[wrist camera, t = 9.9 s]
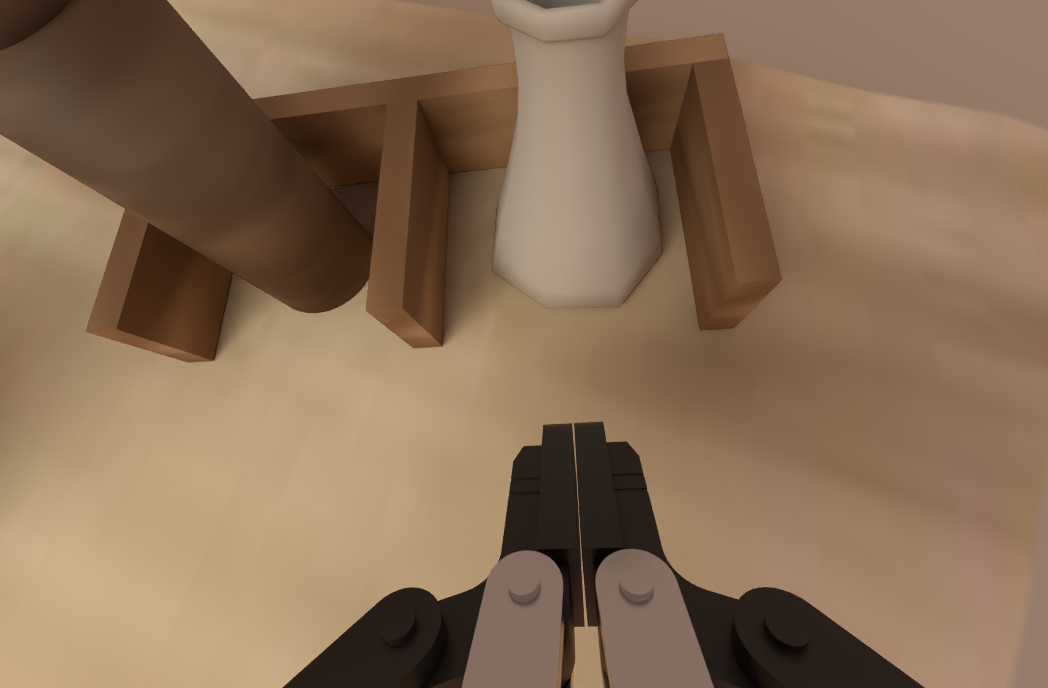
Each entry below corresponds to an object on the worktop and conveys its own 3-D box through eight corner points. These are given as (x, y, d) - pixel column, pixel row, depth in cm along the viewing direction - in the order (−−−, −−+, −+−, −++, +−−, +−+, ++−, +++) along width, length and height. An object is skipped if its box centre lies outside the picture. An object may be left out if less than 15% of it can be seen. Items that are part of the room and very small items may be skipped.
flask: (465, 286, 18) (333, 66, 8) (526, 150, 19) (473, -159, 10) (634, 337, 16) (709, 135, 7) (684, 184, 18) (798, -148, 8)
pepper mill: (265, 316, 18) (-489, -75, 5) (282, 223, 20) (-276, -259, 7) (368, 309, 18) (-194, -146, 5) (378, 213, 19) (-34, -331, 6)
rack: (188, 362, 18) (85, 331, 14) (231, 178, 21) (156, 112, 18) (733, 328, 16) (782, 279, 12) (694, 123, 19) (722, 33, 15)
